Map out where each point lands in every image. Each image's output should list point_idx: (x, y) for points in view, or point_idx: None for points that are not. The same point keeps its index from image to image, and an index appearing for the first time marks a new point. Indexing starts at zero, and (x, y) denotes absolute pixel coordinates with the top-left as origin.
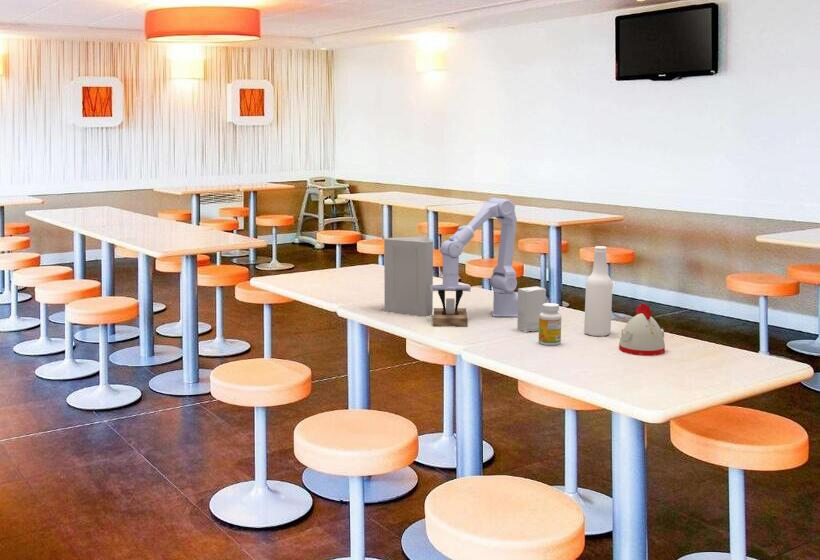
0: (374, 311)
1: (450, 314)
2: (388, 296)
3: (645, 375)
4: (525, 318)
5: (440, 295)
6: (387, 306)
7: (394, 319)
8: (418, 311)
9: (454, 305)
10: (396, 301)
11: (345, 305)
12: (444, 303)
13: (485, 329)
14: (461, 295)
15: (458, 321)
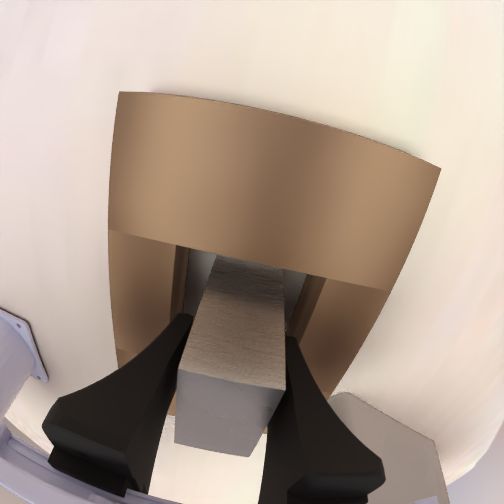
0: (455, 440)
1: (245, 283)
2: (441, 484)
3: None
4: None
5: (362, 454)
6: (436, 455)
7: (488, 355)
8: (373, 422)
9: (191, 330)
10: (422, 471)
11: (461, 466)
12: (296, 382)
13: (62, 23)
14: (66, 397)
15: (210, 100)
